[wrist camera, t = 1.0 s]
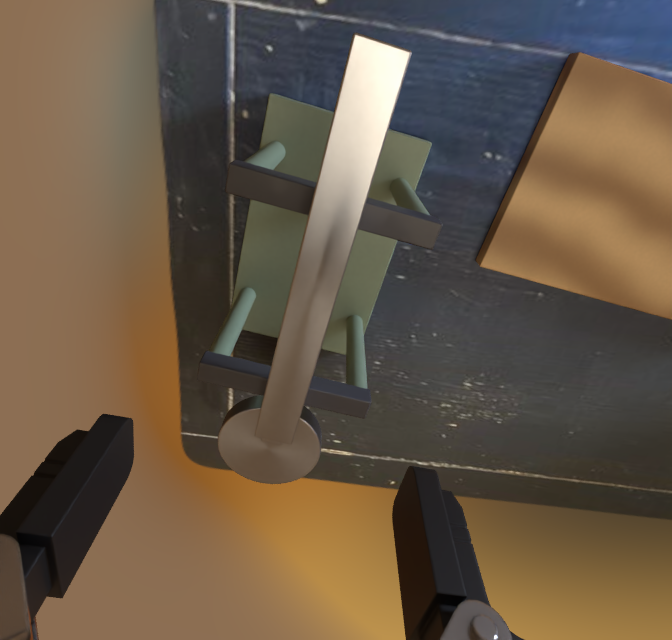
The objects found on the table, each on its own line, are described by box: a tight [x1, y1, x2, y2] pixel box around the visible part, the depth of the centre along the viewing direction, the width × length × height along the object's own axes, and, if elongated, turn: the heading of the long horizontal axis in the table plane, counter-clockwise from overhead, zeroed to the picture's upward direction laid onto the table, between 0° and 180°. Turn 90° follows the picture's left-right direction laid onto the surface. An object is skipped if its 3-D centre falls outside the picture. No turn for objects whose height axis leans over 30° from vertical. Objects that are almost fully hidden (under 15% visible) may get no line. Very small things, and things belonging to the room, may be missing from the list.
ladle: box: [218, 33, 412, 484], centre depth 21 cm, size 24×6×3 cm, turn 165°
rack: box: [197, 93, 442, 419], centre depth 25 cm, size 16×10×11 cm, turn 165°
